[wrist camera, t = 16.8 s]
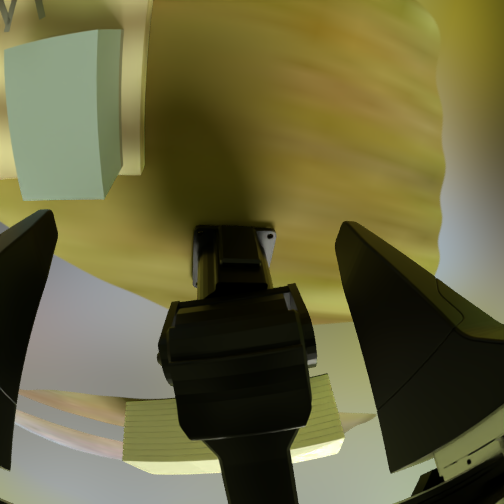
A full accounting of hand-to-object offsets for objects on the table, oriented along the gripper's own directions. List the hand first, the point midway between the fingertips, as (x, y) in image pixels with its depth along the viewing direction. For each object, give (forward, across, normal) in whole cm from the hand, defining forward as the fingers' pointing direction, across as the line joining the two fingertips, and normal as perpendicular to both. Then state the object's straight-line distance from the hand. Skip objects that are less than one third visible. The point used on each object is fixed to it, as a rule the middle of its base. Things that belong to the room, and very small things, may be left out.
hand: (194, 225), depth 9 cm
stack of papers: (+14, -5, +44) cm, 46 cm away
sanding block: (+12, +8, -1) cm, 14 cm away
